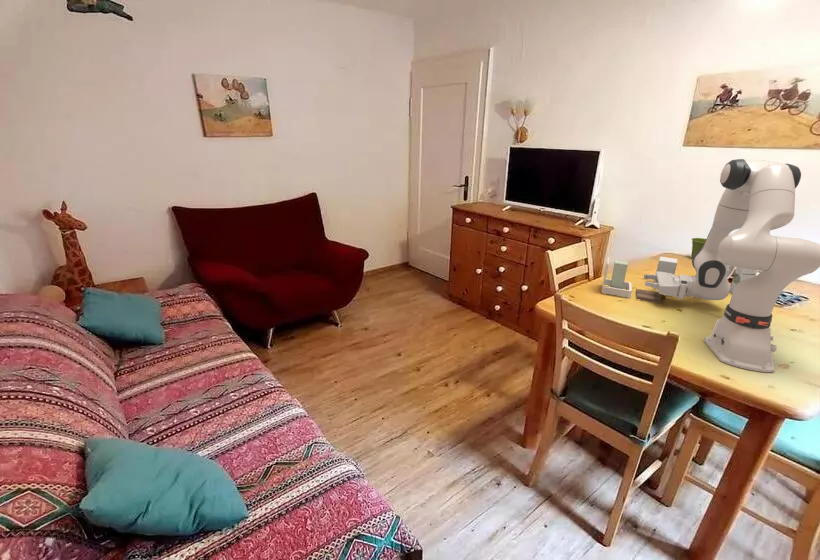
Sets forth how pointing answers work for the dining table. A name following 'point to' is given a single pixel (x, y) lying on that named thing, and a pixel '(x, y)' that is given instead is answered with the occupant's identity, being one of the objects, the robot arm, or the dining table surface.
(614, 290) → the white backed tray
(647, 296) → the walnut board
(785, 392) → the dining table surface
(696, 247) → the plant pot
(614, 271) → the sage box
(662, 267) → the supplement box
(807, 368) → the dining table surface
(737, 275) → the syrup box
